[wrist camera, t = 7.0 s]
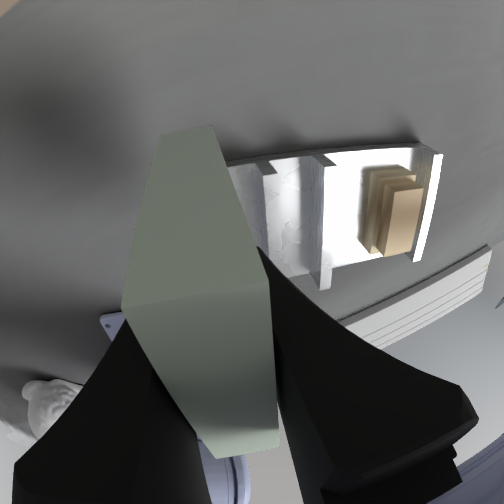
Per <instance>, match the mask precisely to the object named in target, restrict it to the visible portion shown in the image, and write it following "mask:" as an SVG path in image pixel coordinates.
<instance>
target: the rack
mask: <svg viewBox="0 0 504 504" xmlns="http://www.w3.org/2000/svg"><path fill="white" fill-rule="evenodd" d="M441 162H442V154H440V153H439V152H437V151H435V150H433V149H432V148H430V147H428V146H426V145H424V144H423V143H395V144H376V145H360V146H347V147H335V148H325V149H315V150H305V151H297V152H288V153H280V154H273V155H265V156H258V157H251V158H245V159H238V160H232V161H226V162H225V163H226V165H227V168H228V171H229V173H230V176H231V179H232V182H233V184H234V187H235V190H236V192H237V195H238V198H239V201H240V203H241V206H242V209H243V212H244V214H245V217H246V220H247V223H248V225H249V228H250V231H251V233H252V236H253V239H254V242H255V244H256V246H258V247H260V248H261V249H262V250H263V251H264V253H265V254H266V255H267V256H268V258H269V259H270V260H271V261H272V262H273V263H274V265H275V266H276V267H277V268H278V269H279V270H280V271H281V272H282V273H283V274H284V275H285V276H286V277H287V278H288V277H292V276H297V275H302V274H306V273H311V275H312V277H313V279H314V281H315V283H316V285H317V286H318V288H319V290H324V289H328V288H330V285H331V275H332V268H334V267H338V266H343V265H347V264H352V263H356V262H360V261H365V260H369V259H373V258H378V257H382V254H381V253H377V254H373V255H369V253H368V252H367V251H366V249H365V248H364V247H363V240H364V232H365V224H366V216H367V207H368V197H369V186H370V175H371V171H379V170H390V169H400V168H407V169H408V170H410V171H411V172H413V173H414V174H416V180H415V182H416V183H417V184H419V185H420V186H421V187H423V188H424V189H423V195H422V200H421V206H420V211H419V216H418V221H417V225H416V230H415V235H414V239H413V243H412V247H411V251H408V252H404V253H405V254H406V255H407V256H408V257H409V258H410V260H411V261H412V262H415V261H419V260H420V259H421V256H422V252H423V248H424V244H425V241H426V237H427V232H428V228H429V224H430V220H431V215H432V211H433V206H434V201H435V196H436V191H437V186H438V180H439V175H440V169H441Z"/></svg>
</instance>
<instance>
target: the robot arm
mask: <svg viewBox="0 0 504 504" xmlns="http://www.w3.org/2000/svg"><path fill="white" fill-rule="evenodd" d="M256 247H257V250H258V253H259V255H260V258H261V261H262V264H263V266H264V269H265V272H266V275H267V277H268V280H269V292H270V305H271V319H272V333H273V347H274V362H275V377H276V392H277V402H278V406H279V409H280V413H281V417H282V421H283V425H284V428H285V432H286V436H287V440H288V444H289V447H290V451H291V455H292V459H293V463H294V466H295V471H296V474H297V478H298V482H299V486H300V490H301V494H302V498H303V502H304V504H504V433H503V434H502V435H501V436H500V437H499V438H498V439H496V440H495V441H494V442H492V443H491V444H490V445H489V446H487V447H486V448H484V449H483V450H482V451H480V452H479V453H477V454H476V455H474V456H473V457H471V458H470V459H468V460H467V461H465V462H464V463H462V464H460V465H459V466H457V467H456V465H455V463H454V461H453V459H454V458H455V457H456V456H457V453H456V451H455V449H454V447H453V444H454V443H455V442H457V441H458V440H459V439H460V438H462V437H463V436H464V435H465V434H467V433H468V432H469V431H470V430H471V429H472V428H473V427H475V426H476V424H477V423H478V420H479V417H478V416H477V414H476V412H475V410H474V408H473V406H472V404H471V402H470V400H469V398H468V397H467V396H466V394H465V393H464V391H463V390H462V389H461V387H460V386H459V385H456V384H454V383H451V382H448V381H446V380H443V379H441V378H438V377H436V376H433V375H430V374H428V373H425V372H423V371H420V370H418V369H416V368H414V367H412V366H410V365H408V364H406V363H404V362H402V361H400V360H398V359H396V358H394V357H392V356H391V355H389V354H387V353H385V352H384V351H382V350H380V349H378V348H377V347H375V346H373V345H371V344H370V343H368V342H366V341H365V340H363V339H362V338H360V337H359V336H357V335H356V334H354V333H353V332H351V331H349V330H348V329H347V328H345V327H344V326H342V325H341V324H340V323H338V322H337V321H336V320H334V319H333V318H332V317H330V316H329V315H328V314H327V313H325V312H324V311H323V310H322V309H320V308H319V307H318V306H317V305H316V304H314V303H313V302H312V301H311V300H310V299H309V298H308V297H306V296H305V295H304V294H303V293H302V292H301V291H300V290H299V289H298V288H297V287H296V286H295V285H294V284H293V283H292V282H291V281H290V280H289V279H288V278H287V277H286V276H285V275H284V274H283V273H282V272H281V271H280V270H279V269H278V268H277V267H276V266H275V265H274V263H273V262H272V261H271V260H270V259H269V258H268V256H267V255H266V254H265V253H264V251H263V250H262V249H261V248H260V247H258V246H256ZM100 323H101V325H102V326H103V328H104V330H105V331H106V333H107V335H108V336H109V338H110V339H111V341H112V343H111V345H110V347H109V348H108V350H107V352H106V353H105V355H104V357H103V358H102V360H101V361H100V363H99V364H98V366H97V368H96V369H95V371H94V372H93V374H92V375H91V377H90V378H89V379H88V381H87V382H86V384H85V385H84V386H83V388H82V389H81V390H80V392H79V393H78V394H77V396H76V397H75V398H74V400H73V401H72V402H71V404H70V405H69V406H68V407H67V409H66V410H65V411H64V412H63V413H62V415H61V416H60V417H59V418H58V419H57V421H56V422H55V423H54V424H53V425H52V426H51V427H50V428H49V429H48V431H47V432H46V433H45V434H44V435H43V436H42V437H41V438H40V439H39V440H38V441H37V442H36V443H35V444H34V445H33V446H32V447H31V448H30V449H29V450H28V451H27V452H26V453H25V454H24V455H23V456H22V457H21V458H20V459H19V460H18V461H17V462H15V464H14V473H13V490H12V504H248V503H249V500H250V494H251V481H250V473H249V468H248V464H247V461H246V457H245V455H244V454H243V455H238V456H232V457H225V458H219V459H216V458H215V457H214V456H213V455H212V453H211V452H210V451H209V449H208V448H207V447H206V445H205V444H204V443H203V441H202V440H201V439H200V437H199V436H198V434H197V433H196V432H195V430H194V429H193V427H192V426H191V425H190V423H189V422H188V420H187V419H186V417H185V416H184V414H183V413H182V412H181V410H180V409H179V407H178V406H177V404H176V403H175V401H174V399H173V398H172V396H171V395H170V393H169V392H168V390H167V389H166V387H165V385H164V384H163V382H162V381H161V379H160V377H159V376H158V374H157V373H156V371H155V369H154V368H153V366H152V364H151V363H150V361H149V359H148V357H147V356H146V354H145V352H144V350H143V349H142V347H141V345H140V343H139V342H138V340H137V338H136V336H135V334H134V333H133V331H132V329H131V327H130V325H129V323H128V321H127V319H126V318H125V316H124V314H123V312H118V313H112V314H105V315H102V316H101V317H100ZM108 324H109V325H108Z"/></svg>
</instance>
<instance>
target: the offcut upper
mask: <svg viewBox="0 0 504 504" xmlns="http://www.w3.org/2000/svg"><path fill="white" fill-rule="evenodd" d="M423 189H424V188H423V187H421V186H420V185H419V184H417V183H416V182H415V181H404V182H395V183H387V184H385V186H384V194H383V202H382V210H381V217H380V224H379V231H378V237H377V243H376V248H377V250H378V251H379V252H380V253H381V254H382V256H383V257H387V256H391V255H395V254H400V253H404V252H408V251H411V247H412V243H413V239H414V235H415V230H416V225H417V221H418V216H419V211H420V206H421V200H422V195H423Z"/></svg>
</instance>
